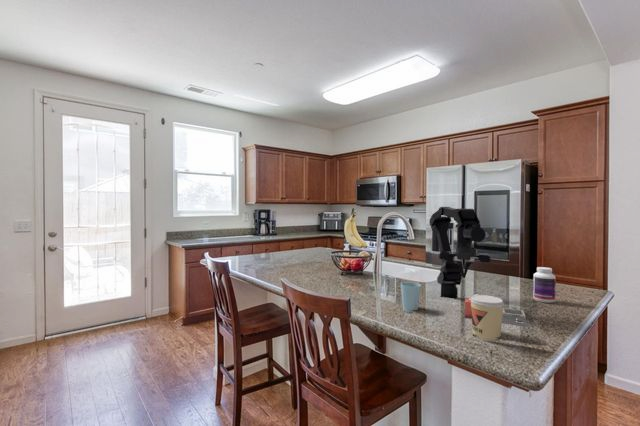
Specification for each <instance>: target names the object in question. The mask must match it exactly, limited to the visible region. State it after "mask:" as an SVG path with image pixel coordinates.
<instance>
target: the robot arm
mask: <svg viewBox="0 0 640 426" xmlns="http://www.w3.org/2000/svg"><path fill="white" fill-rule="evenodd" d="M452 218H453V220H454V221H455V222H456V223H457V224H456V225H455V228H456V231H457V232H456V248H455V249H456V250H455V253H452V252H453V251H452V247H451V243H450V240H449V239H450V238H449V235H448V231H449V229H450V224H451V222H452ZM429 226H430V228H431V231H432V232H433V233H434V234H435V235H436V238H437V244H438V248H439V255H438V256H439V257H438V259H439V260H441V263H442V264H441V267H440V269H439V271H440V273H439V274H438V276H437V278H436V280H437V281H436V282H437V283H438V284H439V285H440V298H447V299H453V300H456V299H457V298H458V297H459V296H458V295H459V293H458V292H459V289H458V287H457V285H458V286H461V282H462V279H463V278H464V279H465V278H466V277H467V273H468V271H469V268H470V267H471V265H472V264H475V260H477V261H478V260H479V261H480V262H481V263H487V264H488V263H489V264H490V263H491V255H490V253H483V252H482V253H481V252H479V253H478V254H477V248H476V247H473V242H475V243H481V242H483V241H484V240H485V237H486V235H487V234H486V231H485V229H484V228H482V227H481V220H480V219H479V217H478V215H477V212H476V210H475V209H474V208H455V207H450V206H441V207H440V206H439V208H438V209H437V210H436V211H435V212H434V213H432V215H431V216H430V219H429ZM464 260H465V266H464V263H463V262H464Z"/></svg>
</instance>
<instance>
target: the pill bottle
mask: <svg viewBox="0 0 640 426" xmlns="http://www.w3.org/2000/svg"><path fill="white" fill-rule="evenodd" d="M556 279H557V278H556V275H555V274H554V273H553V269H552V267H546V266H545V267H544V266H537V267H536V272H535V273H533V278H532V285H533V286H532V290H533V291H532V297H533V298H532V299H533V300H535V301H537V302H540V303H545V304H546V303H547V304H548V303H550V304H551V303H554V302H556V282H557V281H556Z"/></svg>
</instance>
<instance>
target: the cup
mask: <svg viewBox="0 0 640 426" xmlns="http://www.w3.org/2000/svg"><path fill="white" fill-rule="evenodd" d="M421 288H422V285H421V283H418V282H412V281H408V282H407V281H405V282H401V283H400V291H401V292H400V293H401V304H402V311H403V312H405V313H408V314H412V313H413V311H417V310H418V309H419V304H420V298H421V297H420V296H421V290H422V289H421Z"/></svg>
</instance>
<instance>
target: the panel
mask: <svg viewBox="0 0 640 426" xmlns="http://www.w3.org/2000/svg"><path fill="white" fill-rule="evenodd" d="M463 308H464V309H463V317H462V318H464V319H469V320H472V316H466V315H465V306H464V307H463ZM502 324H503V325H511V326H518V327H526V328H530V326H529V324H528V322H527V319H526V314H525V312H524V310H522V309H518V307H515V306H512V307H511V308H509V307H503V315H502Z"/></svg>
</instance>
